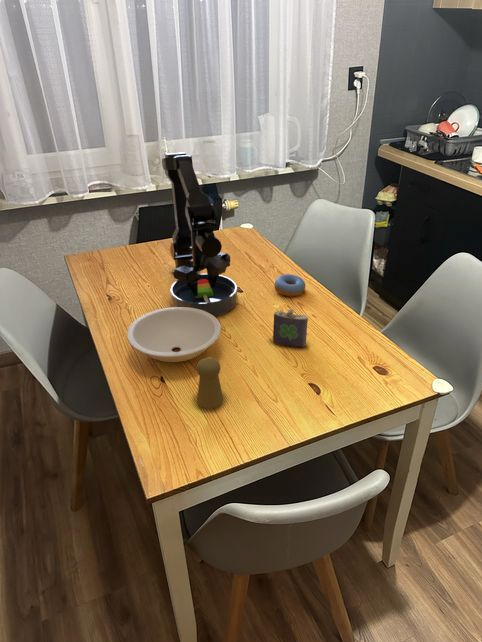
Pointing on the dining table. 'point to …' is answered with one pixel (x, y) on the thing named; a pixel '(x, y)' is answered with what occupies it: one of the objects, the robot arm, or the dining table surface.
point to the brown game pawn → (209, 384)
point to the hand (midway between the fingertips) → (204, 291)
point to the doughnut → (289, 285)
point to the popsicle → (204, 290)
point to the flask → (290, 329)
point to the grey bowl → (174, 333)
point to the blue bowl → (218, 303)
